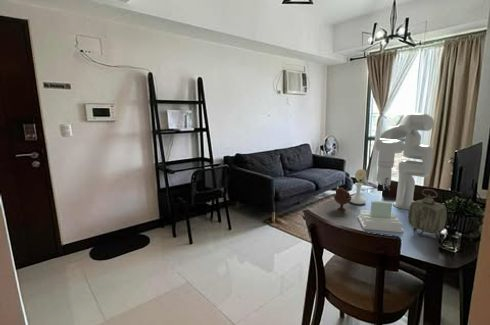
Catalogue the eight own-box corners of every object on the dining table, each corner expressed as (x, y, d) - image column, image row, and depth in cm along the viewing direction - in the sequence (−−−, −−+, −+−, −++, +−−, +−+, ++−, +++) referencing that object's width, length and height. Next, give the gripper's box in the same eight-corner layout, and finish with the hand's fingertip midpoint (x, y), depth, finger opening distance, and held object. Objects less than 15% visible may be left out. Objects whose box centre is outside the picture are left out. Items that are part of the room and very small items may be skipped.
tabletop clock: (443, 238, 133) (450, 191, 128) (435, 243, 128) (442, 194, 123) (412, 228, 145) (418, 184, 140) (404, 232, 140) (410, 187, 135)
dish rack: (394, 220, 155) (395, 212, 154) (403, 232, 140) (404, 223, 139) (357, 217, 159) (358, 210, 158) (363, 228, 144) (364, 220, 143)
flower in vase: (345, 200, 190) (348, 166, 185) (360, 199, 191) (363, 166, 186) (355, 206, 177) (358, 170, 172) (370, 206, 178) (374, 170, 173)
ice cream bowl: (342, 214, 164) (344, 191, 161) (329, 208, 174) (330, 186, 171) (354, 211, 169) (355, 189, 166) (340, 205, 179) (342, 184, 176)
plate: (388, 222, 149) (390, 202, 147) (389, 223, 147) (392, 203, 145) (369, 220, 151) (371, 200, 149) (370, 222, 149) (372, 202, 147)
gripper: (374, 160, 152) (371, 188, 155) (382, 167, 135) (379, 198, 139) (388, 160, 150) (385, 189, 154) (398, 167, 133) (395, 199, 137)
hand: (382, 193), depth 146 cm, fingers open, 9 cm apart
